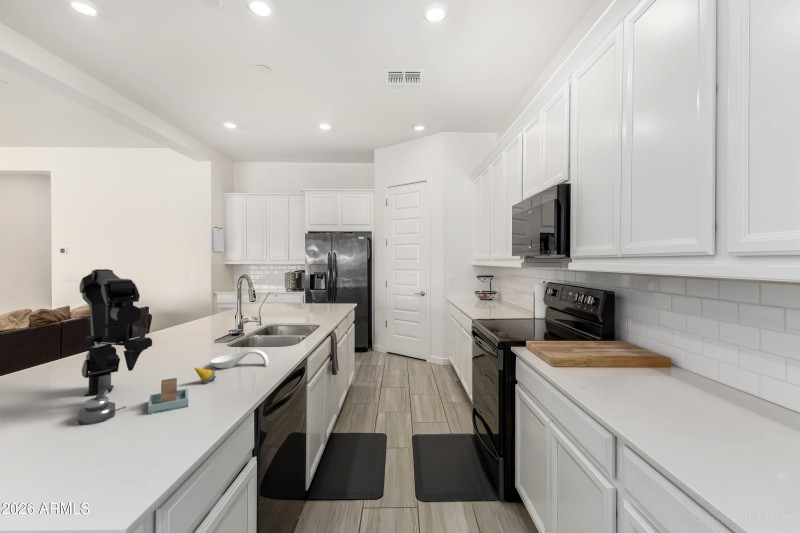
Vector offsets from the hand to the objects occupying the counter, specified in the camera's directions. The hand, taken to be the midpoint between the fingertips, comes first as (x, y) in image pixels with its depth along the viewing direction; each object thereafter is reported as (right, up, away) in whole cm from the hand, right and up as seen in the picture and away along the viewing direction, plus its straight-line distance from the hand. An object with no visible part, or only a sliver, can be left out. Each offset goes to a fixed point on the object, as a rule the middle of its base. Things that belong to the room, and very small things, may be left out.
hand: (117, 369), depth 101 cm
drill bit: (+15, -12, +20) cm, 28 cm away
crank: (-2, -8, -3) cm, 9 cm away
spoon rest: (+18, -12, +41) cm, 47 cm away
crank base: (+1, -12, -7) cm, 14 cm away
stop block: (+15, -11, +2) cm, 19 cm away
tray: (+15, -12, +2) cm, 19 cm away
